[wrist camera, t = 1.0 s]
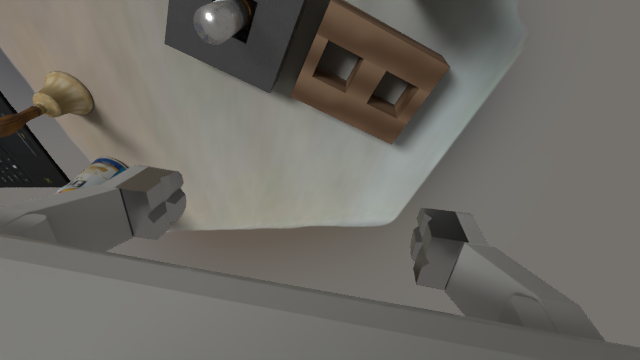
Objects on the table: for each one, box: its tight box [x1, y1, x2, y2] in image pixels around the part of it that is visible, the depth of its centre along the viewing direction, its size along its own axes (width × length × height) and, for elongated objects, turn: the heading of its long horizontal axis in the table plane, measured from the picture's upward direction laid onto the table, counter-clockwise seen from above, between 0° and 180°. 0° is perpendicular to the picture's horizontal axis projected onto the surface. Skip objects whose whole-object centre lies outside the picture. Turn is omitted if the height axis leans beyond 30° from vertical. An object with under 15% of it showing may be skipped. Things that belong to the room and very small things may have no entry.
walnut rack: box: [291, 0, 450, 144], centre depth 45 cm, size 14×18×5 cm
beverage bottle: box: [56, 157, 128, 194], centre depth 58 cm, size 8×8×20 cm
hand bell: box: [0, 71, 93, 138], centre depth 49 cm, size 8×8×16 cm
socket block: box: [165, 0, 307, 93], centre depth 41 cm, size 16×16×5 cm
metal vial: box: [194, 0, 257, 45], centre depth 38 cm, size 4×4×12 cm
